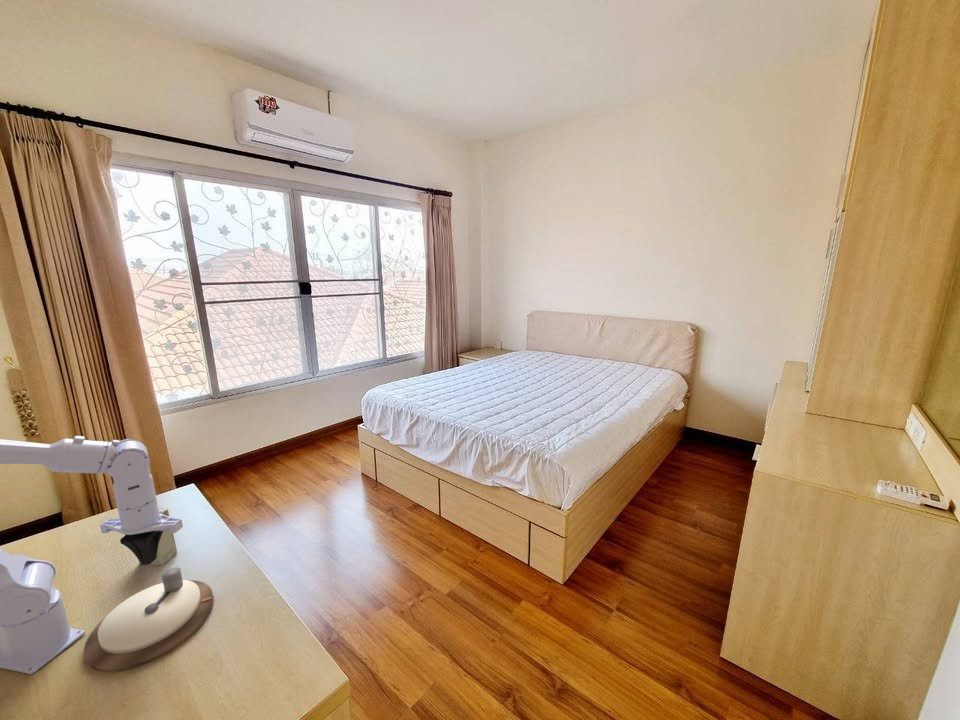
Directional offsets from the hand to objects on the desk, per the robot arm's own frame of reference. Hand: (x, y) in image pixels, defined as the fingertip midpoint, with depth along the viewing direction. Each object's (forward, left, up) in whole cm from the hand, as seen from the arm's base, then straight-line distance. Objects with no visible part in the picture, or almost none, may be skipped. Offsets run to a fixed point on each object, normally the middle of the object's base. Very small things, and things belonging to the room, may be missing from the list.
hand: (149, 561), depth 78 cm
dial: (+5, -5, -8) cm, 10 cm away
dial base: (+5, -5, -9) cm, 12 cm away
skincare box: (-12, +10, -10) cm, 18 cm away
